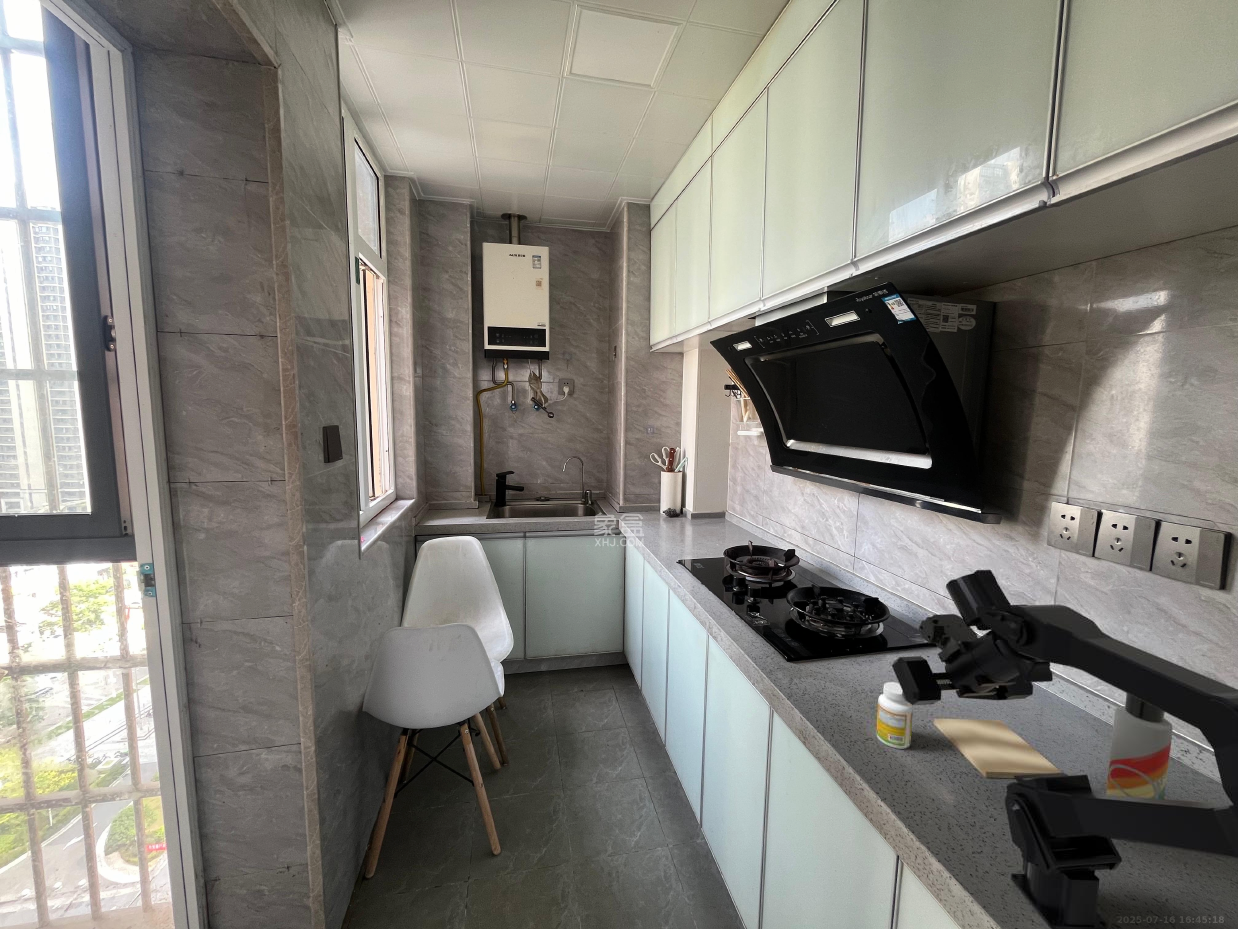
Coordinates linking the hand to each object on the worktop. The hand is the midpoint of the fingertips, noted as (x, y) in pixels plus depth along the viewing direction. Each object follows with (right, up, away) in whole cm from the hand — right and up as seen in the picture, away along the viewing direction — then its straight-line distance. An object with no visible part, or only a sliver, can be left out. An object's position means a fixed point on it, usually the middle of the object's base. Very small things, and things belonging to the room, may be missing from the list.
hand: (931, 695), depth 80 cm
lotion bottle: (+25, -14, -7) cm, 29 cm away
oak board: (+15, -12, +7) cm, 21 cm away
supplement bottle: (-1, -12, +9) cm, 16 cm away
